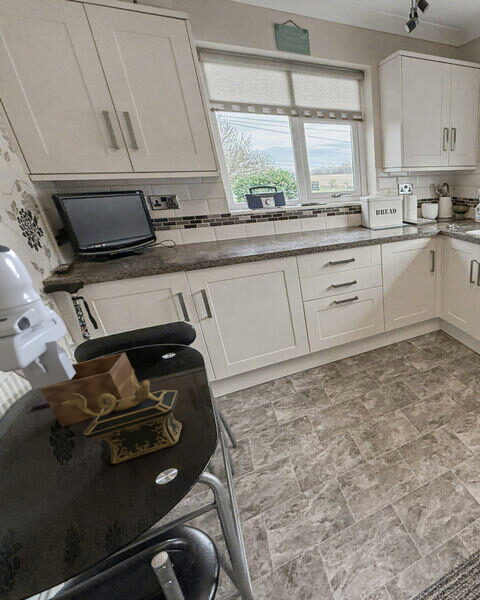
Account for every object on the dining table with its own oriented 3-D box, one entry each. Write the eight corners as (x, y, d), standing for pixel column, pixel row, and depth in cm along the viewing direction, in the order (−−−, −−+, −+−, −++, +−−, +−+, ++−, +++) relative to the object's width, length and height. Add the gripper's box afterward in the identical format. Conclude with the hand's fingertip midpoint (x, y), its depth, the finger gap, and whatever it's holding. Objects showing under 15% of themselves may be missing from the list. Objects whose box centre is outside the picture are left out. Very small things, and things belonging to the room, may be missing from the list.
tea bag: (70, 380, 80) (51, 343, 76) (33, 389, 77) (11, 352, 73) (75, 372, 83) (58, 337, 79) (40, 381, 80) (20, 345, 76)
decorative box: (190, 419, 88) (165, 356, 81) (184, 443, 80) (156, 375, 73) (99, 447, 81) (63, 381, 74) (82, 476, 73) (40, 405, 66)
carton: (61, 426, 90) (40, 389, 86) (82, 400, 101) (64, 366, 97) (127, 408, 96) (109, 372, 91) (139, 385, 107) (125, 352, 102)
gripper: (28, 304, 81) (54, 352, 86) (-34, 337, 64) (2, 395, 69) (60, 299, 84) (83, 346, 89) (9, 329, 66) (41, 386, 71)
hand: (48, 368), depth 78 cm, fingers closed on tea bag, 4 cm apart
